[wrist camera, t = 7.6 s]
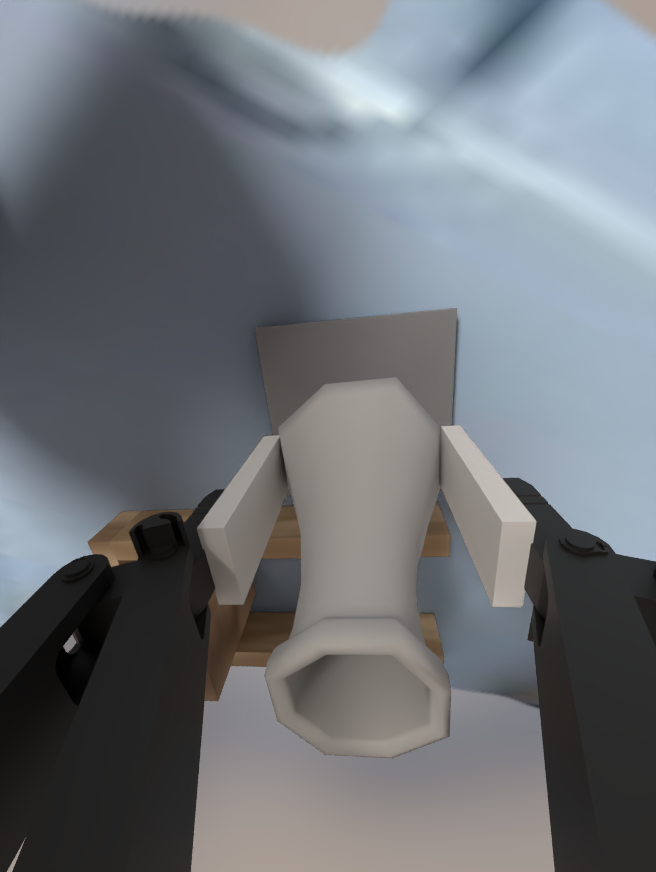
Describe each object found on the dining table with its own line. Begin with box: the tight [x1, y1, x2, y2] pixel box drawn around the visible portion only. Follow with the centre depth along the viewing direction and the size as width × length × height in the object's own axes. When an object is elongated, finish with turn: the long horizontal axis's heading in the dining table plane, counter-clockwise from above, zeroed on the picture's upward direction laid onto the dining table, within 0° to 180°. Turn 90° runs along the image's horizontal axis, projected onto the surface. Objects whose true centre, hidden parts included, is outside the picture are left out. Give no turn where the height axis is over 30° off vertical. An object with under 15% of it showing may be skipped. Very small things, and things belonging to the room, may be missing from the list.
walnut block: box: [204, 581, 256, 701], centre depth 23 cm, size 5×5×8 cm
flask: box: [265, 377, 451, 758], centre depth 10 cm, size 7×7×10 cm
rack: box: [88, 502, 450, 667], centre depth 25 cm, size 12×24×4 cm, turn 95°
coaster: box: [254, 308, 457, 496], centre depth 20 cm, size 11×11×1 cm
